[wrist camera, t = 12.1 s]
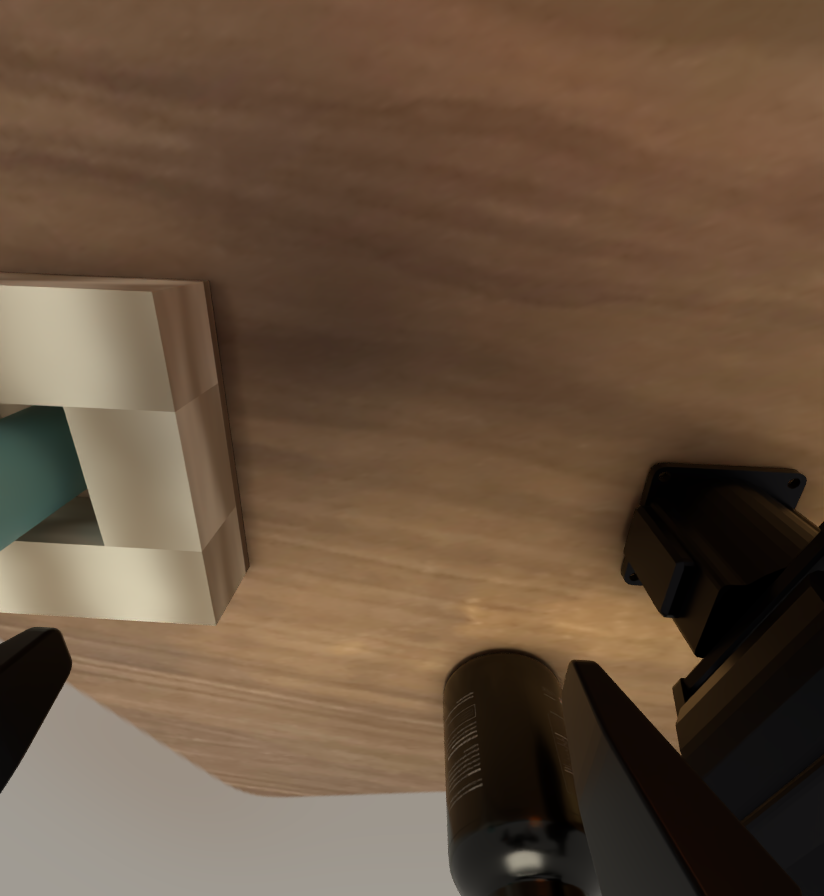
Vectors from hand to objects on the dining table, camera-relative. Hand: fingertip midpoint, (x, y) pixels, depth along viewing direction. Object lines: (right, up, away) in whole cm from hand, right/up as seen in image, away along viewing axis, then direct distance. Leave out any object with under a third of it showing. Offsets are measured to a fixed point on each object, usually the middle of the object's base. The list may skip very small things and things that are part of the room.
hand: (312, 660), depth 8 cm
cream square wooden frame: (-13, +4, +13) cm, 19 cm away
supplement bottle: (+7, -10, +19) cm, 23 cm away
